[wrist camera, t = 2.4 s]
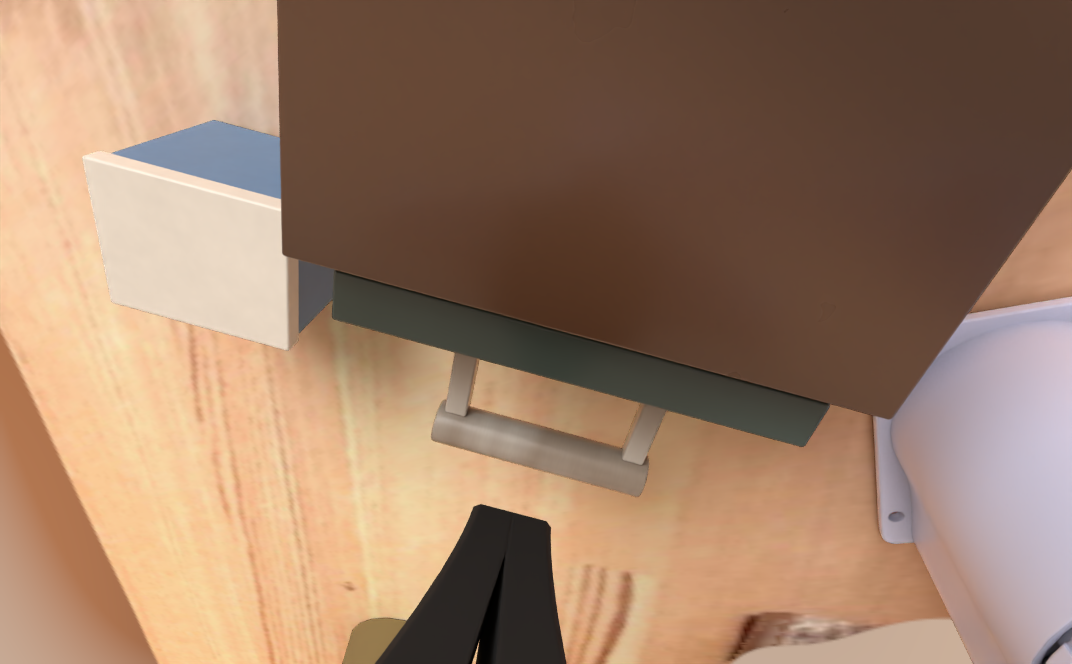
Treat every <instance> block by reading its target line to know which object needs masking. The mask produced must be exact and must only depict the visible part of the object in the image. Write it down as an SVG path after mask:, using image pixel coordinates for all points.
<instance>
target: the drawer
mask: <svg viewBox="0 0 1072 664" xmlns="http://www.w3.org/2000/svg"><path fill="white" fill-rule="evenodd" d="M332 318H333V319H334V320H338V321H341V322H345V323H349V324H352V325H356V326H360V327H363V328H367V329H371V330H374V331H378V332H382V333H385V334H389V335H393V336H396V337H400V338H404V339H407V340H411V341H415V342H418V343H422V344H426V345H429V346H433V347H437V348H440V349H444V350H448V351H451V352H455V355H454V361H453V366H452V372H451V378H450V384H449V389H448V395H447V400H443V401H442V402H441V404H440V406H439V409H438V411H437V414H436V417H435V420H434V424H433V428H432V434H431V439H432V440H433V441H435V442H438V443H442V444H446V445H449V446H453V447H456V448H460V449H464V450H467V451H471V452H475V453H478V454H482V455H486V456H489V457H493V458H496V459H500V460H504V461H507V462H511V463H515V464H518V465H522V466H525V467H529V468H533V469H536V470H540V471H544V472H547V473H551V474H554V475H558V476H562V477H565V478H569V479H573V480H576V481H580V482H583V483H587V484H591V485H594V486H598V487H602V488H605V489H609V490H612V491H616V492H620V493H623V494H627V495H631V496H634V497H639V496H640V495H641V493H642V491H643V489H644V486H645V483H646V480H647V475H648V470H649V458H648V456H647V454H648V452H649V449H650V447H651V445H652V443H653V440H654V438H655V436H656V433H657V431H658V429H659V427H660V424H661V422H662V420H663V418H664V415H665V413H666V411H667V410H668V411H671V412H675V413H679V414H682V415H686V416H690V417H693V418H697V419H701V420H704V421H708V422H712V423H715V424H719V425H723V426H726V427H730V428H734V429H737V430H741V431H745V432H748V433H752V434H756V435H759V436H763V437H767V438H770V439H774V440H778V441H781V442H785V443H789V444H792V445H796V446H800V447H804V446H805V445H806V444H807V442H808V440H809V439H810V437H811V436H812V434H813V432H814V431H815V429H816V428H817V426H818V425H819V423H820V421H821V420H822V418H823V417H824V415H825V414H826V412H827V410H828V409H829V407H830V404H828V403H825V402H821V401H817V400H814V399H810V398H806V397H803V396H799V395H795V394H792V393H788V392H784V391H781V390H777V389H773V388H769V387H766V386H762V385H758V384H755V383H751V382H747V381H744V380H740V379H736V378H733V377H729V376H725V375H721V374H718V373H714V372H710V371H707V370H703V369H699V368H696V367H692V366H688V365H685V364H681V363H677V362H674V361H670V360H666V359H662V358H659V357H655V356H651V355H648V354H644V353H640V352H637V351H633V350H629V349H626V348H622V347H618V346H614V345H611V344H607V343H603V342H600V341H596V340H592V339H589V338H585V337H581V336H578V335H574V334H570V333H566V332H563V331H559V330H555V329H552V328H548V327H544V326H541V325H537V324H533V323H530V322H526V321H522V320H519V319H515V318H511V317H507V316H504V315H500V314H496V313H493V312H489V311H485V310H482V309H478V308H474V307H471V306H467V305H463V304H459V303H456V302H452V301H448V300H445V299H441V298H437V297H434V296H430V295H426V294H423V293H419V292H415V291H412V290H408V289H404V288H400V287H397V286H393V285H389V284H386V283H382V282H378V281H375V280H371V279H367V278H364V277H360V276H356V275H352V274H349V273H345V272H341V271H338V270H334V276H333V305H332ZM480 359H481V360H484V361H488V362H492V363H495V364H499V365H503V366H506V367H510V368H514V369H517V370H521V371H525V372H528V373H532V374H536V375H539V376H543V377H547V378H550V379H554V380H558V381H561V382H565V383H569V384H572V385H576V386H580V387H583V388H587V389H591V390H594V391H598V392H602V393H605V394H609V395H613V396H616V397H620V398H624V399H627V400H631V401H635V402H638V403H640V404H639V407H638V409H637V412H636V414H635V417H634V419H633V422H632V424H631V426H630V429H629V431H628V434H627V436H626V439H625V441H624V444H623V448H620V447H616V446H613V445H609V444H605V443H602V442H598V441H594V440H591V439H587V438H583V437H580V436H576V435H572V434H569V433H565V432H562V431H558V430H554V429H551V428H547V427H543V426H540V425H536V424H532V423H529V422H525V421H521V420H518V419H514V418H510V417H507V416H503V415H500V414H496V413H492V412H489V411H485V410H481V409H478V408H474V407H470V404H471V399H472V394H473V389H474V384H475V379H476V374H477V369H478V364H479V360H480Z"/></svg>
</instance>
